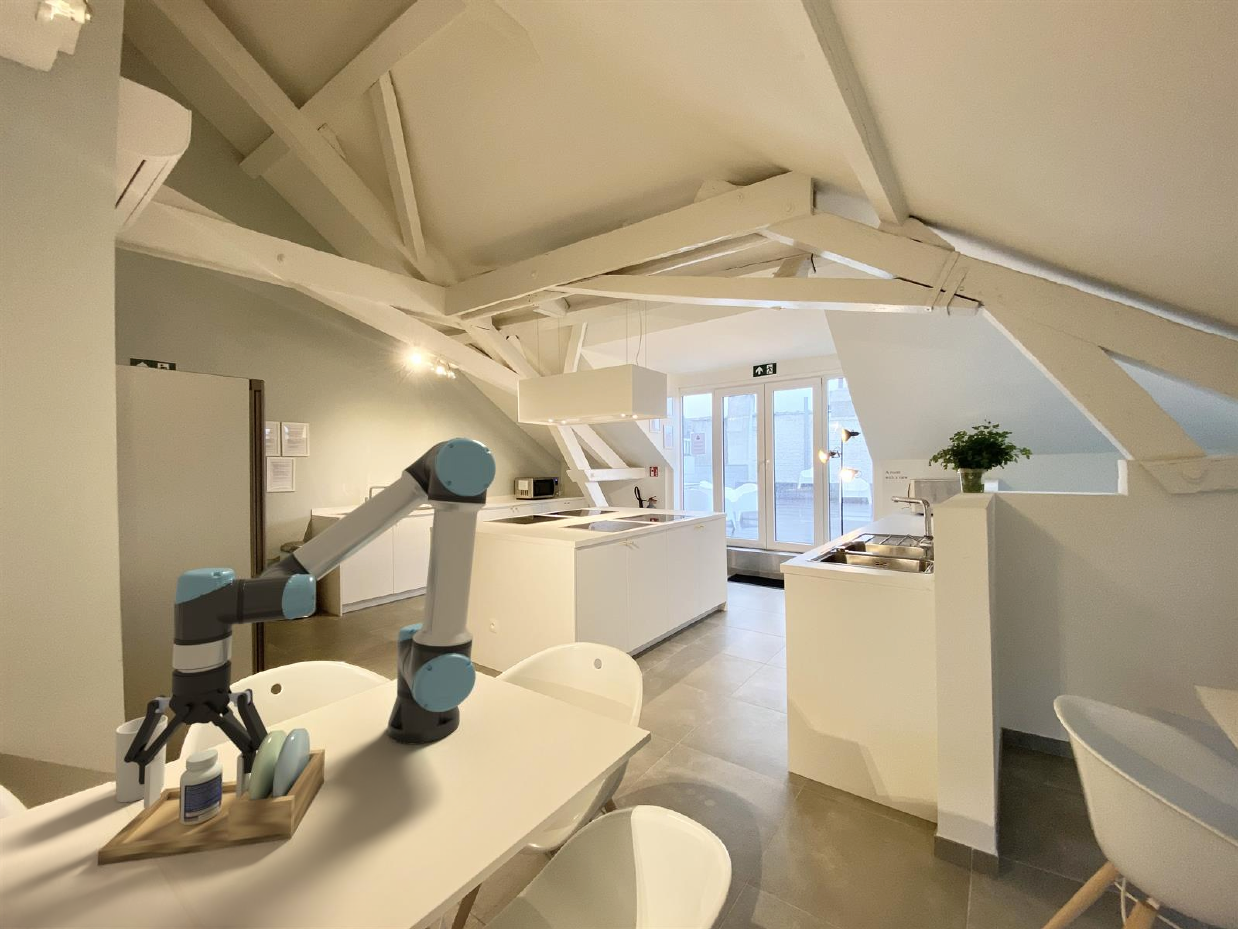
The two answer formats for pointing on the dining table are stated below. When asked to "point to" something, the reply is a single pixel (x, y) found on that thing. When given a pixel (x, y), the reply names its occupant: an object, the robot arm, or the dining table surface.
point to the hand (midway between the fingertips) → (198, 797)
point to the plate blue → (291, 761)
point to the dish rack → (216, 821)
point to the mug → (129, 772)
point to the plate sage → (265, 765)
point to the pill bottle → (200, 788)
